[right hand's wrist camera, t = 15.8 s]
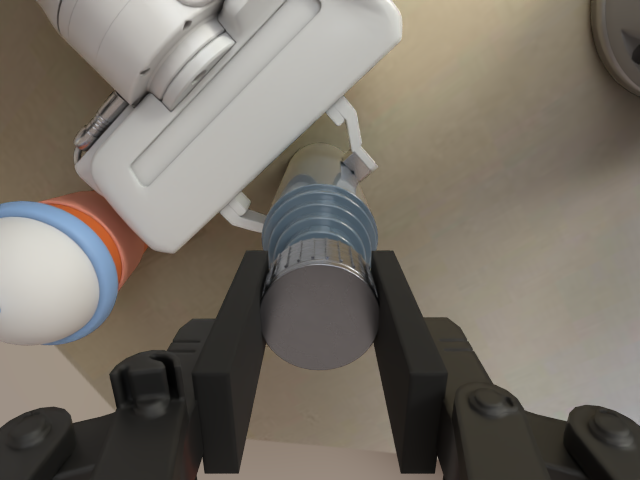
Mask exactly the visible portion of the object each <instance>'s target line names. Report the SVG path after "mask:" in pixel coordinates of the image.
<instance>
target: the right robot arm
mask: <svg viewBox="0 0 640 480" xmlns="http://www.w3.org/2000/svg"><path fill="white" fill-rule="evenodd" d="M591 26H592V33H593V39H594V42H595V46H596V49H597V52H598V54H599V57H600V59H601V61H602V63H603V65H604V66H605V68H606V69H607V71H608V72H609V74H610V75H611V76H612V77H613V78H614V79H615V81H616V82H618V83H619V84H620V85H621V86H622V87H623V88H625V89H626V90H628V91H629V92H631V93H633V94H635V95H637V96H639V97H640V0H591ZM268 273H269V262H268V251H246V253H245V255H244V257H243V259H242V261H241V264H240V266H239V268H238V270H237V273H236V275H235V277H234V279H233V281H232V284H231V286H230V288H229V290H228V293H227V295H226V297H225V299H224V301H223V304H222V306H221V308H220V310H219V313H218V315H217V317H216V319H192V320H190V321H189V322H188V323H187V324H185V325H184V326H183V327H181V328H180V329H179V331H178V332H177V334H176V336H175V338H174V339H173V343H171V344H170V346H169V348H168V350H167V351H165V350H151V351H146V352H141V353H138V354H135V355H133V356H131V357H128V358H126V359H125V360H123V361H122V362H120V363H119V364H118V365H116V366H115V367H114V369H113V370H112V371H111V373H110V374H109V375H110V380H111V384H112V389H113V393H114V398H115V403H116V407H117V409H116V412H114V413H111V414H108V415H105V416H102V417H98V418H93V419H89V420H85V421H80V422H76V423H72V419H71V415H70V414H69V413H68V412H67V411H66V410H65V409H62V408H57V407H46V408H39V409H36V410H32V411H29V412H26V413H24V414H22V415H20V416H18V417H16V418H14V419H12V420H10V421H9V422H7V423H6V424H5V425H3V426H2V427H1V428H0V480H197V472H198V469H199V466H200V462H201V459H202V457H203V464H204V472H205V473H207V474H209V473H210V474H213V473H239V469H240V465H241V460H242V455H243V450H244V446H245V441H246V436H247V431H248V427H249V422H250V417H251V412H252V407H253V403H254V398H255V393H256V388H257V384H258V379H259V374H260V369H261V365H262V360H263V355H264V350H265V345H266V341H265V339H264V338H263V335H262V332H261V315H260V303H261V300H262V293H263V289H264V286H265V282H266V279H267V275H268ZM371 274H372V277H373V281H374V285H375V288H376V292H377V295H378V303H379V325H378V334H377V336H376V338H375V340H374V342H373V343H374V348H375V352H376V357H377V362H378V367H379V371H380V376H381V381H382V386H383V390H384V395H385V400H386V405H387V410H388V414H389V419H390V424H391V429H392V433H393V438H394V443H395V448H396V453H397V457H398V462H399V467H400V472H401V473H402V474H406V473H408V474H409V473H411V474H414V473H415V474H417V473H418V474H420V473H421V474H422V473H423V474H434V473H435V468H436V461H437V456H438V459H439V462H440V465H441V468H442V471H443V474H444V475H443V480H640V426H639V425H638V424H636V423H635V422H634V421H633V420H631V419H630V418H628V417H626V416H624V415H622V414H620V413H618V412H616V411H614V410H610V409H607V408H604V407H601V406H592V405H583V406H579V407H575V408H574V409H573V410H572V411H571V412H570V413H569V417H568V421H563V420H558V419H554V418H550V417H545V416H541V415H537V414H534V413H531V412H527V411H525V410H524V408H523V407H522V405H521V404H520V402H519V400H518V399H517V398H516V397H515V396H513V395H512V394H511V393H510V392H508V391H507V390H505V389H503V388H501V387H499V386H497V385H494V384H493V383H492V381H491V379H490V378H489V376H488V374H487V373H486V371H485V369H484V367H483V366H482V364H481V362H480V361H479V359H478V357H477V355H476V354H475V352H474V351H473V349H472V347H471V345H470V343H469V342H468V341H467V338H466V337H465V335H464V333H463V332H462V330H461V328H460V327H459V326H457V325H456V324H455V323H454V322H452V321H451V320H450V319H448V318H423V316H422V314H421V311H420V309H419V307H418V305H417V302H416V300H415V298H414V296H413V294H412V291H411V289H410V287H409V285H408V282H407V280H406V278H405V276H404V274H403V271H402V269H401V267H400V265H399V262H398V260H397V258H396V256H395V254H394V251H372V252H371Z"/></svg>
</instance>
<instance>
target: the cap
mask: <svg viewBox="0 0 640 480" xmlns="http://www.w3.org/2000/svg"><path fill="white" fill-rule="evenodd" d="M260 315H261V332H262V335H263V338H264V339H265V341H266V343H267V344H268V346H269V347H270V348H271V350H272V351H273V352H274V353H275V354H276V355H278V356H279V357H280V358H282V359H283V360H285V361H287V362H288V363H290V364H293V365H295V366H298V367H301V368H305V369H310V370H328V369H334V368H338V367H342V366H344V365H347V364H349V363H351V362H353V361H355V360H356V359H358V358H359V357H360V356H362V355H363V354H364V353H365V352H366V351H367V350H368V349H369V348H370V346H371V345H372V343H373V342H374V340H375V338H376V336H377V334H378V325H379V303H378V295H377V292H376V288H375V285H374V281H373V277H372V274H371V271H370V267H369V264H368V263H367V264H366V262H365V261H364V259H363V258H362V255H361V254H359V253H357V252H356V251H355V250H354V249H353V248H352V247H351V246H348V245H346V244H344V243H342V242H341V241H339V240H338V241H336V240H332V239H328V238H312V239H307V240H303V241H302V240H300V241H299V242H298V243H295V244H293V245H292V246H288V248H287V249H286V250H284V251H283V252H282V253H281V254H280V253H279V254H278V257H277V258H276V260H275V261H274V263H271V266H270V269H269V273H268V275H267V279H266V282H265V286H264V289H263V293H262V300H261V303H260Z"/></svg>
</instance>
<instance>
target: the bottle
mask: <svg viewBox="0 0 640 480" xmlns="http://www.w3.org/2000/svg"><path fill="white" fill-rule="evenodd" d="M344 155H345V153H344V152H343V151H342V150H340V149H339V148H337V147H335V146H333V145H331V144H327V143H313V144H309V145H307V146H304V147H303V148H301V149H300V150H298V151H297V152H296V153H295V154H294V155H293V157H292V158H291V160H290V162H289V164H288V166H287V168H286V171H285V173H284V176H283V178H282V180H281V183H280V185H279V188H278V190H277V192H276V195H275V197H274V199H273V202H272V204H271V207H270V209H269V211H268V214H267V216H266V219H265V222H264V224H263V229H262V247H263V251H268V262H269V269H270V266H271V263H274V261H275V260H276V258H277V257H278V254H279V253H280V254H281V253H282V252H283V251H284V250H286V249H287V248H288V246H292V245H293V244H295V243H298V242H299V241H300V240H302V241H303V240H307V239H312V238H328V239H332V240H336V241H338V240H339V241H341V242H342V243H344V244H346V245H348V246H351V247H352V248H353V249H354V250H355V251H356V252H357V253H359V254H361V255H362V258H363V259H364V261H365V262H366V264H367V263H368V264H369V267H370V268H371V252H372V251H377V245H378V232H377V226H376V222H375V220H374V217H373V215H372V213H371V210H370V208H369V205H368V203H367V201H366V198H365V196H364V193H363V191H362V188H361V186H360V184H359V181H358V179H357V178H356V176H355V175H354V173H353V171H351V170H350V169H349V168H347V167H346V165H345V164H344V163H343V162H342V159H341V157H342V156H344Z"/></svg>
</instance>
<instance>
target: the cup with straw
mask: <svg viewBox="0 0 640 480" xmlns="http://www.w3.org/2000/svg"><path fill="white" fill-rule="evenodd" d="M147 248H148V245H147V244H146V243H145V242H144V241H143V240H142V239H141V238H140V237H139V236H138V235H137V234H136V233H135V232H134V231H133V230H132V229H131V228H130V227H129V226H128V225H127V224H126V223H125V221H124V220H123V219H122V218H121V217H120V216H119V215H118V214H117V212H116V211H115V210H114V209H113V208H112V206H111V205H110V204H109V203H108V201H107V200H106V199H105V198H104V197H103V196H101V195H100V194H98V193H97V192H96V191H95V190H93V191H81V192H75V193H71V194H67V195H63V196H59V197H55V198H51V199H47V200H43V201H40V202H31V201H15V202H7V203H2V204H0V341H1V342H5V343H9V344H16V345H59V344H65V343H69V342H73V341H76V340H78V339H81V338H83V337H85V336H87V335H88V334H90V333H92V332H93V331H94V330H96V329H97V328H98V327H99V326H100V325H101V324H102V323H103V322H104V321H105V320H106V319H107V317H108V316H109V314H110V313H111V311H112V309H113V307H114V304H115V301H116V298H117V293H118V291H119V290H120V289H121V287H122V286H123V285H124V283H125V282H126V280H127V279H128V278H129V276H130V275H131V274H132V272H133V271H134V270H135V268H136V267H137V266H138V264H139V262H140V261H141V258H142V256H143V253H144V252H145V251H146V249H147Z"/></svg>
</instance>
